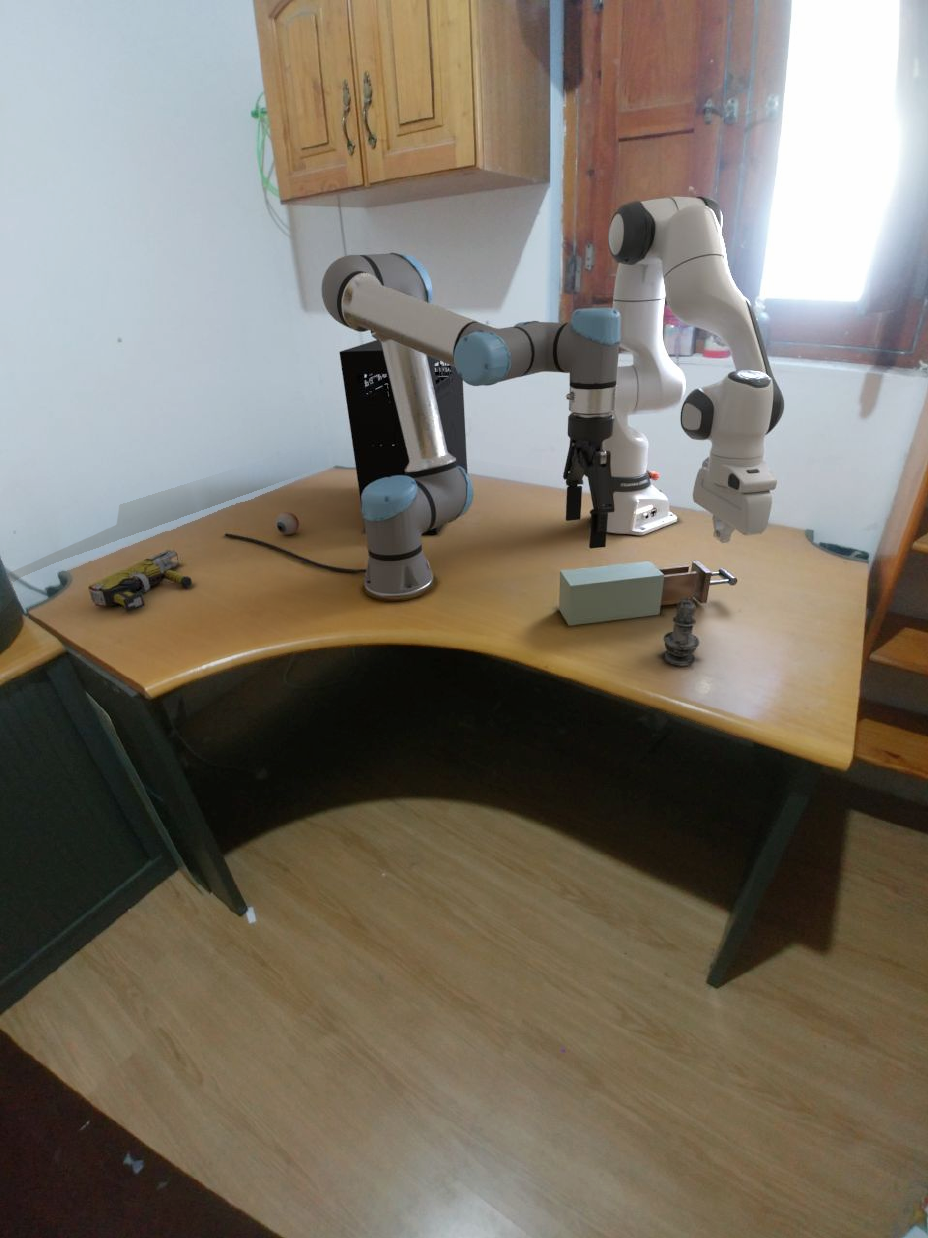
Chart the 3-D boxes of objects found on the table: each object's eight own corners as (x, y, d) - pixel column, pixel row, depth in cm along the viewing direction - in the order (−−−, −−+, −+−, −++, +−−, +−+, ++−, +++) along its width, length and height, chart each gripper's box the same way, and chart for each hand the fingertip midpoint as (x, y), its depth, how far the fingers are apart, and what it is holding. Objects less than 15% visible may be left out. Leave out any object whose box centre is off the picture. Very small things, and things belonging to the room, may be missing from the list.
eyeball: (273, 537, 164) (268, 516, 161) (287, 528, 169) (282, 508, 166) (291, 539, 161) (286, 518, 158) (305, 530, 166) (301, 510, 163)
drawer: (720, 587, 124) (726, 557, 121) (735, 599, 120) (741, 568, 116) (613, 600, 122) (615, 569, 118) (623, 613, 117) (626, 582, 114)
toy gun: (215, 558, 145) (165, 547, 149) (137, 600, 125) (81, 586, 129) (218, 575, 148) (168, 564, 152) (142, 619, 128) (87, 605, 131)
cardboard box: (436, 534, 159) (422, 349, 137) (364, 531, 164) (339, 351, 141) (468, 489, 191) (460, 332, 168) (407, 487, 195) (391, 335, 173)
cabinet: (645, 598, 124) (649, 560, 119) (659, 614, 118) (664, 574, 114) (558, 609, 122) (560, 570, 117) (568, 625, 116) (570, 585, 112)
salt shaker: (698, 668, 101) (709, 605, 95) (662, 665, 103) (670, 603, 97) (694, 649, 106) (704, 588, 100) (659, 647, 108) (667, 587, 102)
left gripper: (548, 400, 110) (546, 511, 121) (595, 431, 89) (587, 562, 99) (588, 397, 111) (582, 507, 122) (643, 427, 89) (630, 557, 100)
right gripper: (689, 455, 117) (680, 522, 124) (748, 486, 100) (734, 563, 107) (720, 452, 118) (709, 519, 125) (783, 483, 100) (767, 559, 107)
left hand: (584, 532), depth 110 cm, fingers open, 13 cm apart
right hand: (721, 539), depth 116 cm, fingers closed
